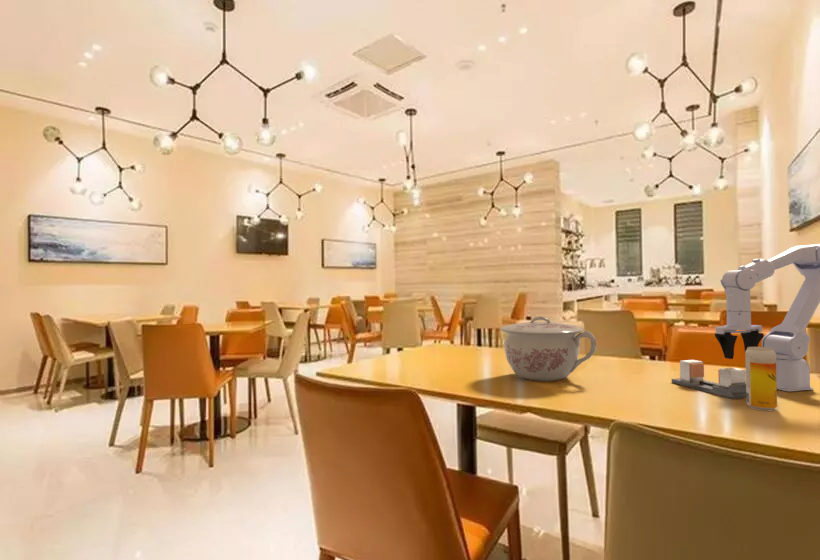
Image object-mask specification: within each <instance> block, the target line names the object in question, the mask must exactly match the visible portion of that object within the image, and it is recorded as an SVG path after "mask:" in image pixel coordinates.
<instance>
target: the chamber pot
mask: <svg viewBox="0 0 820 560" xmlns="http://www.w3.org/2000/svg"><path fill="white" fill-rule="evenodd" d="M499 330H500V331H501V332H504V333H506V338H505V340H504V344H503V346H504V354H505V357H506V358H505V359H506V361H507V362H508V365H509V366H510V368H511V369H512V371H513V373H514V374H515V375H516V376H518V377H520V378H523V379H525V380H529V381H535V382H556V381H560V380H562V379H566V378H568V377H569V376H570V375H571V373H573V372H574V371H575V370H576V369H577V368H578V367H579V366H580V365H581V364H582V363H584V362H585V361H587V360H589V359H590V358H591V357H592V356H593V355H594V353H595V352H596V351H597V346H598V345H597V339H596V337H595V336H594V334H593V333H592V332H590V331H589V330H584V328H582V327H579V326H576V325H573V324H568V323H561V322H552V321H551V320H550V319H548V317H544V316H535V317H533V318H532V319H531V320H530V321H527V322H519V323H512V324H507V325H504V326H501V327H500V328H499ZM582 338H588V339H589V341H590V349H589V351H588V353H586V355H585V356H583V357H581V358H579V354H580V346H581V339H582Z"/></svg>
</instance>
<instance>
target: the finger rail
mask: <svg viewBox="0 0 820 560" xmlns="http://www.w3.org/2000/svg"><path fill="white" fill-rule="evenodd" d="M679 374H680V376H679V378H671V384H674V383H675V385H678V384H679V385H678V386H682V385H683V387H686V386H687V387H686V388H689V387H690V388H689V389H693V388H694V389H693V390H697V389H698V390H697V391H700V390H701V391H700V392H704V391H705V393H708V394H713V395H715V394H716V396H719V395H720V396H719V397H723V398H728V399H730V398H731V400H739V399H746V384H738V385H729V389H726V388H722V387H720V384H719V382H714V381H709V380H706V379H704V378H705V364H704V362H703V361H702V360H697V359H687V360H686V359H685V360H679Z"/></svg>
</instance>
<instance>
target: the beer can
mask: <svg viewBox="0 0 820 560" xmlns="http://www.w3.org/2000/svg"><path fill="white" fill-rule="evenodd" d="M744 354H745V357H744V358H745V360H744V361H745V371H746V398H745V399H746V405H748V407H749V408H750V409H753V410H756V411H757V410H758V411H764V412H769V411H770V412H771V411H772V412H773V411H775V410H776V408H778V392H777V391H778V389H777V377H776V353H775V351H774V349H773V348H767V347H762V346H758V347H747V350H746V351H745V350H744Z"/></svg>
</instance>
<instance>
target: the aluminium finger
mask: <svg viewBox="0 0 820 560" xmlns="http://www.w3.org/2000/svg"><path fill="white" fill-rule="evenodd" d="M717 372H718V373H717V374H718V384H720V387H722V388H726V389H729V385H738V384H746V369H743V368H738V367H725V368H724V367H722V368H719V369H718V371H717Z"/></svg>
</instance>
